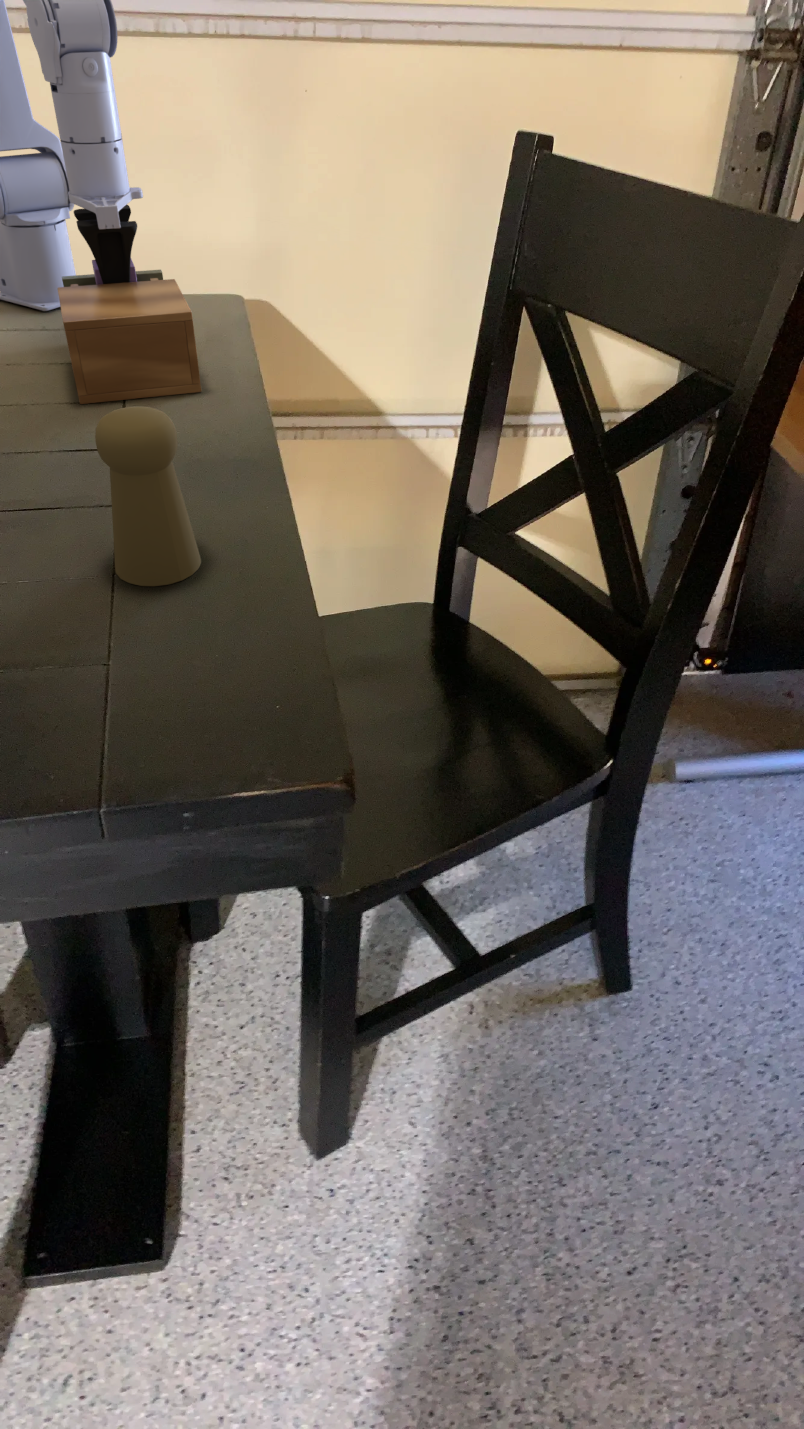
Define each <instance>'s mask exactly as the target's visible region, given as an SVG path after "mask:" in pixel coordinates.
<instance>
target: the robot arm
mask: <svg viewBox="0 0 804 1429" xmlns="http://www.w3.org/2000/svg"><path fill="white" fill-rule="evenodd" d="M22 1H23V4H24V5H25V8H26V17H27V18H26V20H27V26H28V30H29V33H30V36H31V39H32V43H33V45H34V47H35V50H36V52H37V55H38V59H39V63H40V69H41V73H42V75H43V78H44V81H45V82H48V83H49V87H50V91H51V97H52V102H53V107H54V113H55V118H56V124H57V129H58V135H59V136H57V135H56V134H55V133H54V132H52V131H51V130H49V129H48V128H47V127H45V126H44V125H42V124H41V123H39V122H38V121H36V120H35V118H34V114H33V111H32V107H31V103H30V100H29V95H28V91H27V87H26V83H25V78H24V75H23V71H22V67H21V63H20V59H19V54H18V51H17V47H16V43H15V42H16V41H15V39H14V35H13V29H12V26H11V22H10V17H9V13H8V10H7V5H6V2H5V0H0V152H8V151H9V152H10V151H11V152H12V151H21V150H35V151H37V152H34V153H24V154H13V155H3V156H0V301H5V302H9V303H13V304H15V305H20V306H24V307H28V308H32V309H35V310H38V311H43V312H48V311H51V310H54V309H58V308H61V307H60V301H59V295H58V289H57V288H58V287H64V286H63V281H62V276H76V275H77V272H76V268H75V263H74V256H73V252H72V247H71V241H70V236H69V231H68V226H67V220H69V219H71V215H70V212H72V211H73V215H74V217H75V219H76V226H77V230H78V231H79V233H80V234H81V236H82V238H83V239H84V241H85V243H86V244H87V246H88V247H89V249H90V251H91V253H92V256H93V258H94V260H95V261H96V263H97V266H98V269H99V272H100V276H101V279H102V282H103V284H113V283H127V282H130V260H131V259H132V249H133V244H134V240H135V237H136V234H137V230H138V223H137V221H136V220H131V221H130V217H131V215H132V209H131V207H130V205H129V203H130V202H132V201H133V200H138V199H143V198H144V193H143V189H142V188H141V187H139V186H138V187H137V186H136V187H135V186H133V187H131V186H130V181H129V175H128V169H127V161H126V155H125V148H124V143H123V136H122V129H121V122H120V115H119V109H118V102H117V95H116V88H115V82H114V75H113V74H114V73H113V68H112V61H111V58H113V57H114V56H115V54H116V53H117V48H118V24H117V18H116V13H115V12H116V11H115V9H114V5H113V2H112V0H22ZM75 206H77V207H80V208H77V209H74V207H75ZM73 209H74V210H73Z"/></svg>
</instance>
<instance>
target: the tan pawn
mask: <svg viewBox="0 0 804 1429" xmlns="http://www.w3.org/2000/svg"><path fill="white" fill-rule="evenodd" d="M94 434H95V435H94V439H95V440H94V441H95V446H96V452H97V453H98V455H99V457H100V460H102V462H103V463H104V464H105V465H106V466H108V468H109V481H110V500H111V502H110V503H111V518H112V535H113V536H112V537H113V555H114V571H115V574H116V575H117V577H118V578H119V579H120V580H122V581H124V582H126V583H128V584H131V585H136V586H140V587H161V586H167V585H172V584H175V583H178V582H181V581H184V580H185V579H187V578H189V577H191V576H193V575H194V574H195V573H196V572H197V571H198V570H199V569H200V566H201V564H202V558H201V554H200V551H199V547H198V544H197V541H196V538H195V533H194V530H193V527H192V523H191V520H190V517H189V514H188V513H189V512H188V510H187V507H186V503H185V500H184V496H183V493H182V490H181V487H180V483H179V480H178V475H177V472H176V469H175V466H174V462H173V460H174V459H175V457H176V455H177V453H178V447H179V440H178V433H177V429H176V427H175V424H174V422H173V420H172V419H171V418H170V416H168V415H167V413H165V412H164V411H161V410H160V409H157V408H154V407H149V406H136V405H135V406H126V407H122V408H117V409H114V410H112V411H110V412H108V413H107V414H105V415H104V416H102V417H101V418H100V419H99V421H98V422H97V424H96V427H95V433H94Z"/></svg>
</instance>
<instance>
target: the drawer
mask: <svg viewBox="0 0 804 1429" xmlns="http://www.w3.org/2000/svg"><path fill="white" fill-rule="evenodd" d="M135 271H136V277H137V282H141V281H155V280H164V275H163V274H164V273H163V271H162V269H147V270H135ZM62 281H63V286H64V287H72V286H86V285H96V281H95V276H94V273H92V274H79V275H77V274H76V276H62Z"/></svg>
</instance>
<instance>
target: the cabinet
mask: <svg viewBox="0 0 804 1429" xmlns="http://www.w3.org/2000/svg"><path fill="white" fill-rule="evenodd" d="M57 289H58V295H59V301H60V307H59V308H60V312H61V318H62V323H63V324H62V325H63V329H64V334H65V338H66V344H67V348H68V353H69V357H70V363H71V368H72V373H73V377H74V383H75V387H76V392H77V397H78V402H79V405H86V404H87V405H88V404H97V403H105V402H106V403H107V402H116V401H125V400H126V401H127V400H136V399H144V398H155V397H164V396H174V395H175V396H176V395H184V394H185V395H186V394H195V393H201V392H202V385H201V376H200V375H201V374H200V368H199V359H198V351H197V343H196V335H195V327H194V320H193V319H194V318H193V311H192V309H191V307H190V306H189V304H188V302H187V300H186V298H185V296H184V294H183V292H182V290H181V288H180V287H179V285H178V282H177V280H176V279H175V278H171V279H170V278H169V279H163V280H155V281H141V282H127V283H113V284H99V285H86V286H72V287H58V288H57Z"/></svg>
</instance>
